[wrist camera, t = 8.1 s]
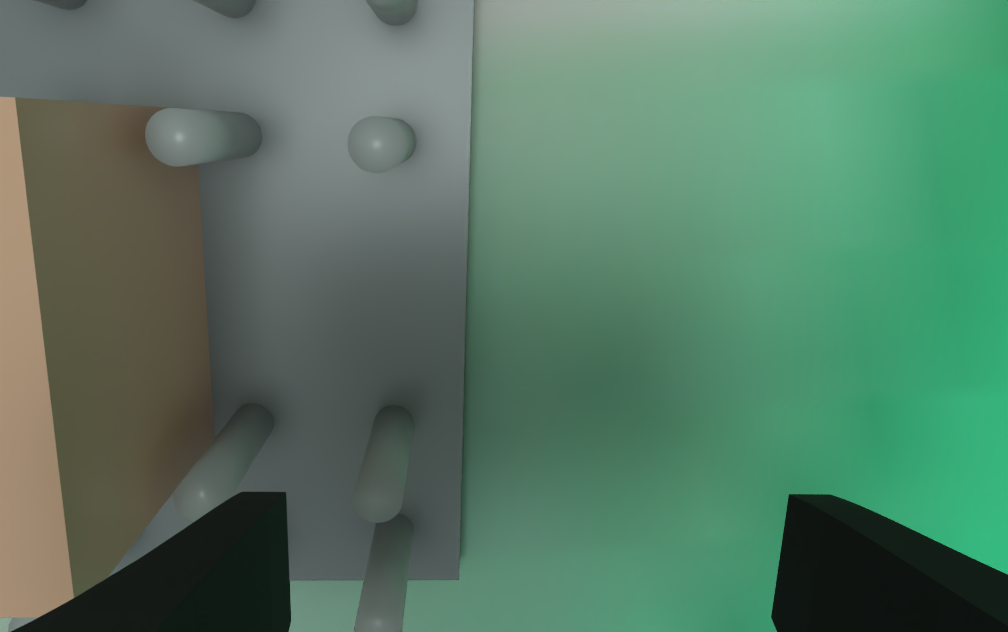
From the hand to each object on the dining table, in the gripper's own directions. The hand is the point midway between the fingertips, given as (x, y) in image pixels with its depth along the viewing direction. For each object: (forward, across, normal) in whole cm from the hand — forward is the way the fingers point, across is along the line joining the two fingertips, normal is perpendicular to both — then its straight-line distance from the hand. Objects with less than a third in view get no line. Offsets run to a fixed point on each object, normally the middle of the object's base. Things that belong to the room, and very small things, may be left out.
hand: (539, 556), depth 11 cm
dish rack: (+9, +8, -2) cm, 13 cm away
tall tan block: (+8, +8, -2) cm, 12 cm away
